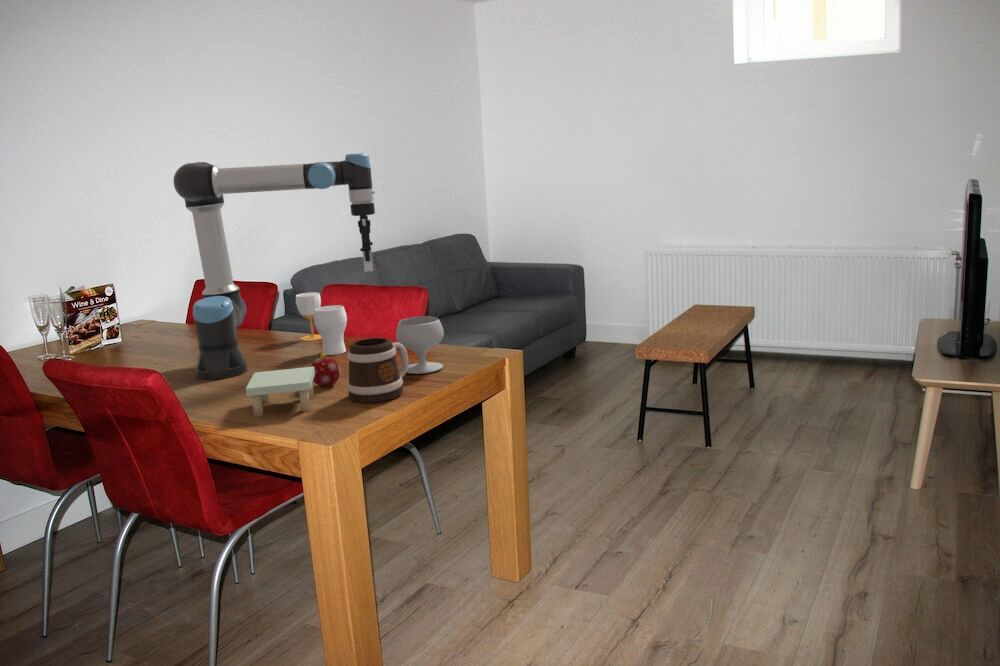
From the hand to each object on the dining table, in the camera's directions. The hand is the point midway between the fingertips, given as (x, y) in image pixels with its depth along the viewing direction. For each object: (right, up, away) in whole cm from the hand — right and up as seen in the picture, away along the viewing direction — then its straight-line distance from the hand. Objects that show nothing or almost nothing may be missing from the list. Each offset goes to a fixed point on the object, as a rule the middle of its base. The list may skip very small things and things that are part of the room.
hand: (368, 268), depth 277 cm
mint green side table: (-15, -40, -50) cm, 66 cm away
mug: (+11, -38, -45) cm, 60 cm away
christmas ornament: (-7, -36, -34) cm, 50 cm away
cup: (-12, -28, +6) cm, 31 cm away
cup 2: (-25, -23, +30) cm, 45 cm away
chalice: (+20, -32, -24) cm, 44 cm away
